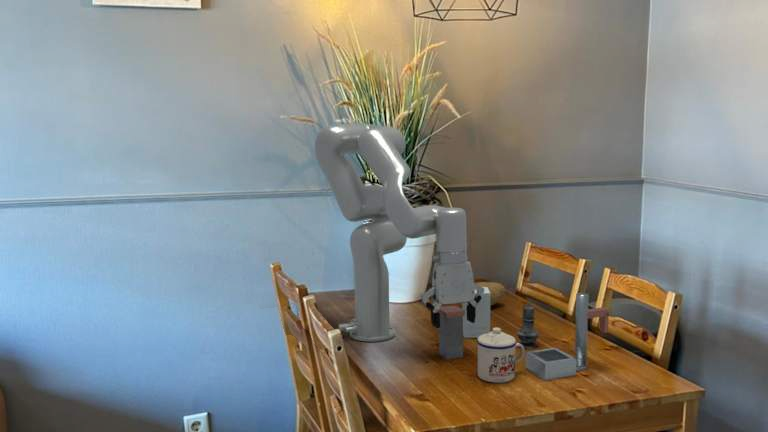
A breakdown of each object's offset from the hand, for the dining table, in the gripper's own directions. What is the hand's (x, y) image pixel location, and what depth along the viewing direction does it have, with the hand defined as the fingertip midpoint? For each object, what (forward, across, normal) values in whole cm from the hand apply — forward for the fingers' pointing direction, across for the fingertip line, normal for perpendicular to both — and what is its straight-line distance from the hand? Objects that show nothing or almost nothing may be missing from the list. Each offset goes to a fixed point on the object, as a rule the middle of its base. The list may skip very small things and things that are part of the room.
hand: (453, 324), depth 179 cm
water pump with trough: (+9, +22, -18) cm, 30 cm away
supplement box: (+8, +13, +14) cm, 21 cm away
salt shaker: (+9, +21, 0) cm, 23 cm away
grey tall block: (+8, -1, +1) cm, 8 cm away
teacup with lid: (+9, +4, -16) cm, 19 cm away
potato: (+8, +28, +37) cm, 47 cm away
